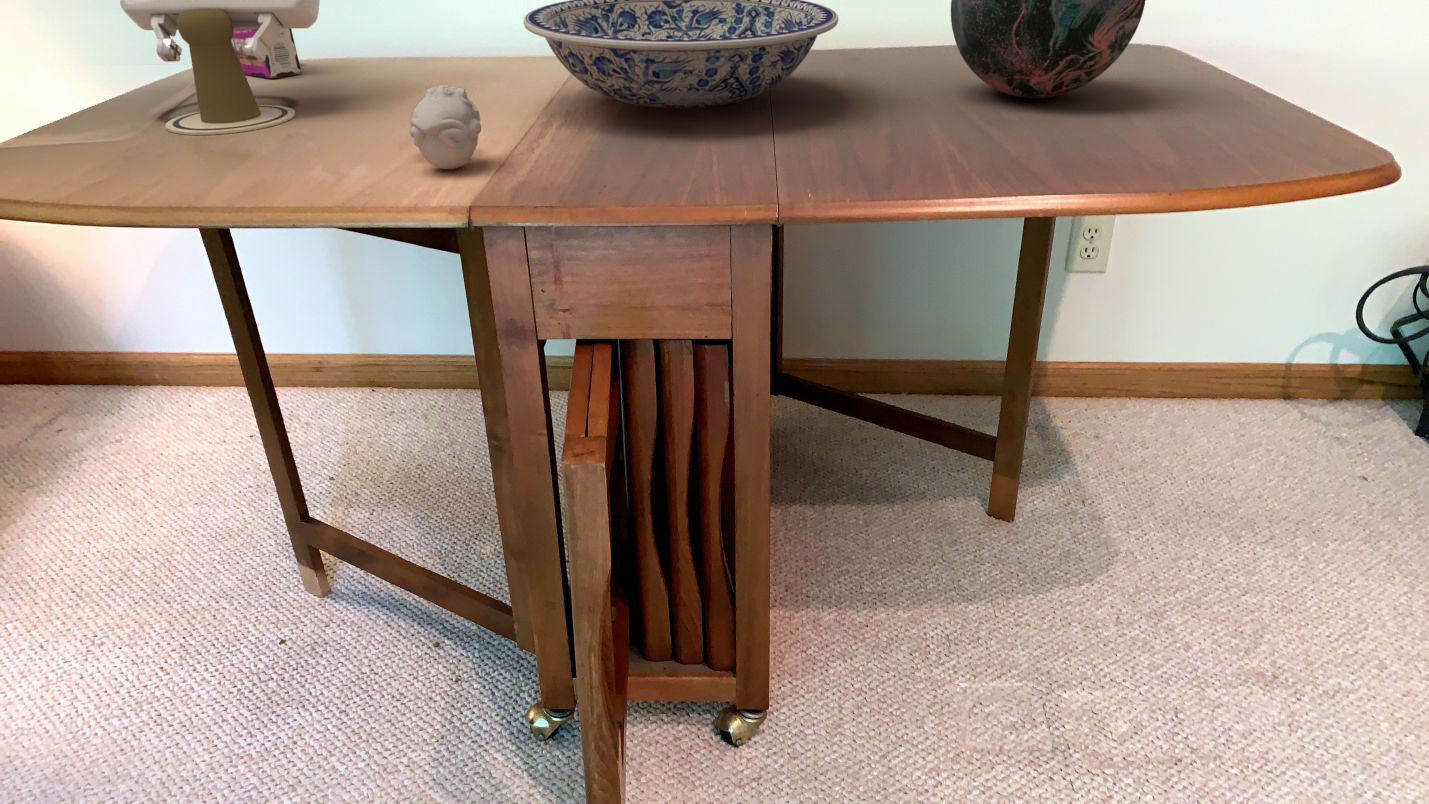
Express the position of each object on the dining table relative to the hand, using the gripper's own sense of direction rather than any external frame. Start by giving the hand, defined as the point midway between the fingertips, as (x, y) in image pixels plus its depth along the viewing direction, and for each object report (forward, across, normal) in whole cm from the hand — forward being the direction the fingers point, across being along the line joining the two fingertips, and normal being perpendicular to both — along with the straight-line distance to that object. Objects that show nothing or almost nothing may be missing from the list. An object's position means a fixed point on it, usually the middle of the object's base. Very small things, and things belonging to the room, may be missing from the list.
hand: (210, 57), depth 95 cm
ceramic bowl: (-1, +50, +10) cm, 51 cm away
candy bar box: (-16, -10, +25) cm, 32 cm away
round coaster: (+4, 0, +5) cm, 7 cm away
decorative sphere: (-2, +90, +12) cm, 90 cm away
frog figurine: (+18, +30, -8) cm, 36 cm away
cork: (+4, 0, +5) cm, 7 cm away
